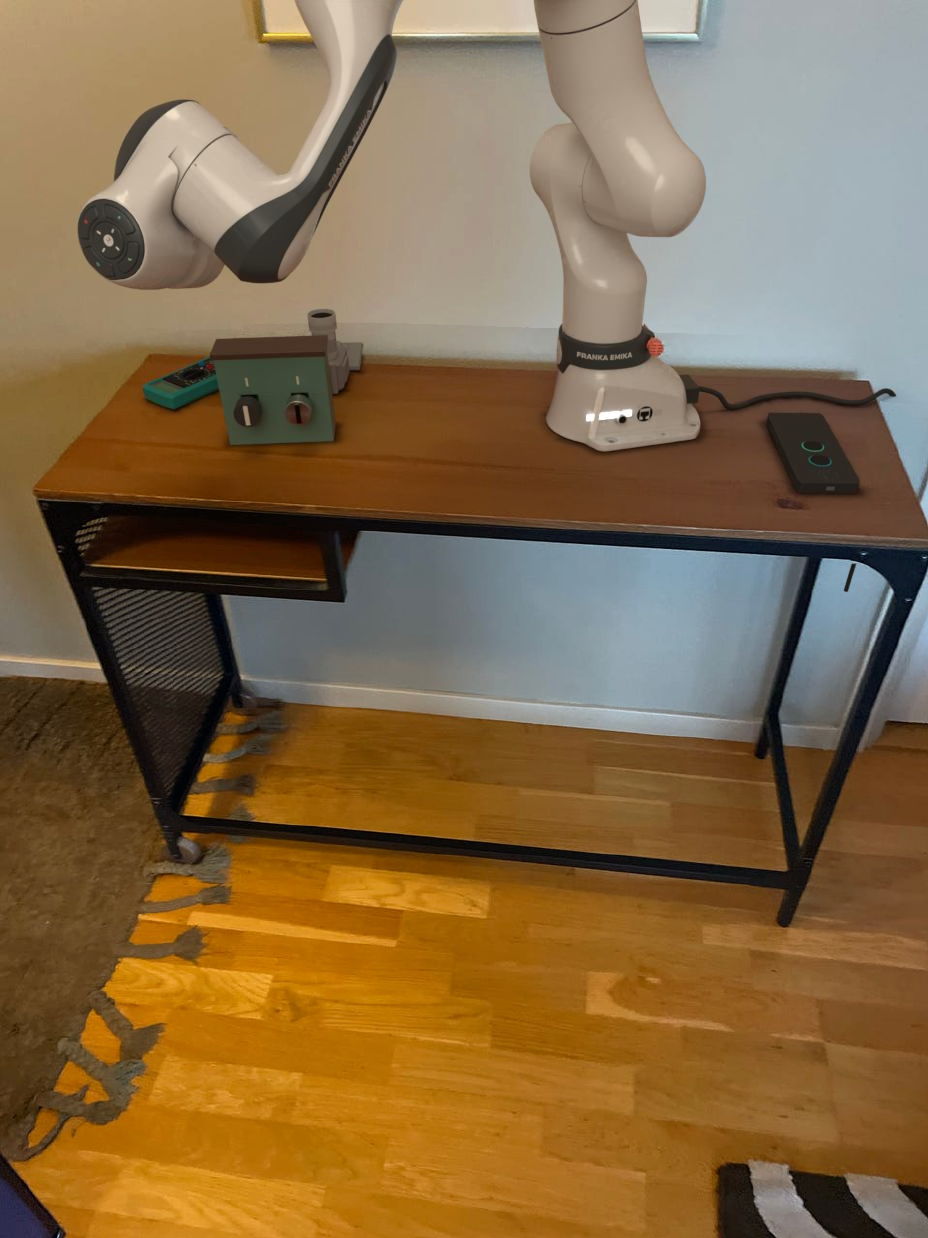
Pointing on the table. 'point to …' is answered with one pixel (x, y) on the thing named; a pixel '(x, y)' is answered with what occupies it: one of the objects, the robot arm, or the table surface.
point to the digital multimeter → (183, 385)
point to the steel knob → (298, 409)
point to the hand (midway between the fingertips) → (231, 248)
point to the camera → (335, 347)
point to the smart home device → (811, 454)
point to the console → (275, 386)
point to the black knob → (247, 411)
